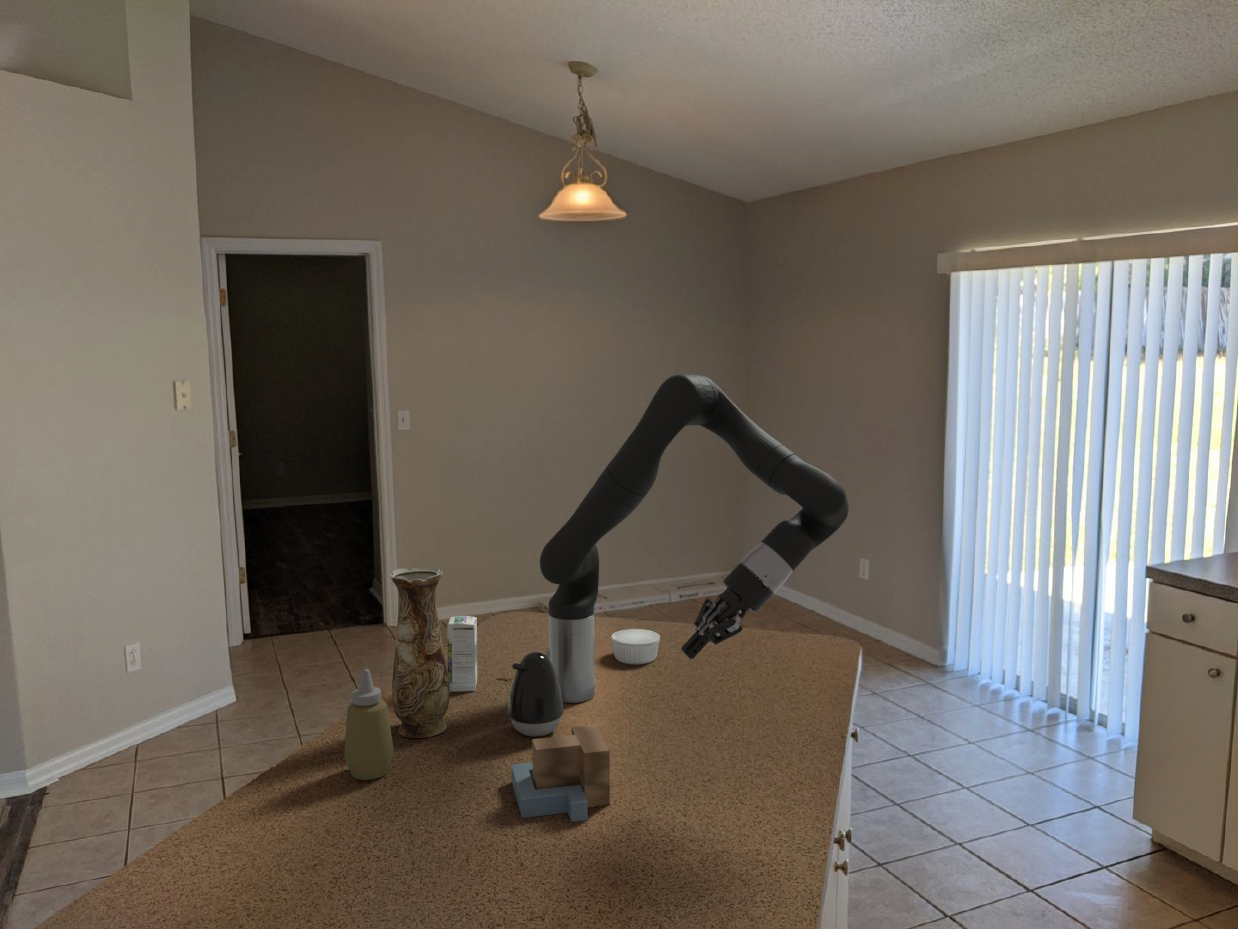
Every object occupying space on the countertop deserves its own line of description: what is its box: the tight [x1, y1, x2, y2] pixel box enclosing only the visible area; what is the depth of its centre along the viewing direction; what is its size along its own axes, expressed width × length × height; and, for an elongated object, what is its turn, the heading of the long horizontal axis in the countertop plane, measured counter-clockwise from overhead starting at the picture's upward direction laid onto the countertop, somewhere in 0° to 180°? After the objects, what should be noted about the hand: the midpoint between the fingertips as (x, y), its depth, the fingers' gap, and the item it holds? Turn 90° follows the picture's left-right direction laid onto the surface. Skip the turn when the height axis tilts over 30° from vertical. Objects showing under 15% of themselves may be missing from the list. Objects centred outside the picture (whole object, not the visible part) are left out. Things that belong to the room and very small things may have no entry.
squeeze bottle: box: [343, 668, 394, 781], centre depth 155 cm, size 8×8×18 cm
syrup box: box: [446, 615, 478, 693], centre depth 194 cm, size 6×6×14 cm
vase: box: [389, 566, 450, 739], centre depth 172 cm, size 10×11×30 cm
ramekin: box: [610, 628, 661, 665], centre depth 212 cm, size 11×11×5 cm
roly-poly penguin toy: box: [507, 651, 564, 738], centre depth 172 cm, size 10×10×15 cm
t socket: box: [510, 761, 589, 823], centre depth 148 cm, size 10×18×3 cm, turn 14°
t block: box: [531, 724, 611, 808], centre depth 149 cm, size 11×10×9 cm
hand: (686, 654), depth 151 cm, fingers closed
